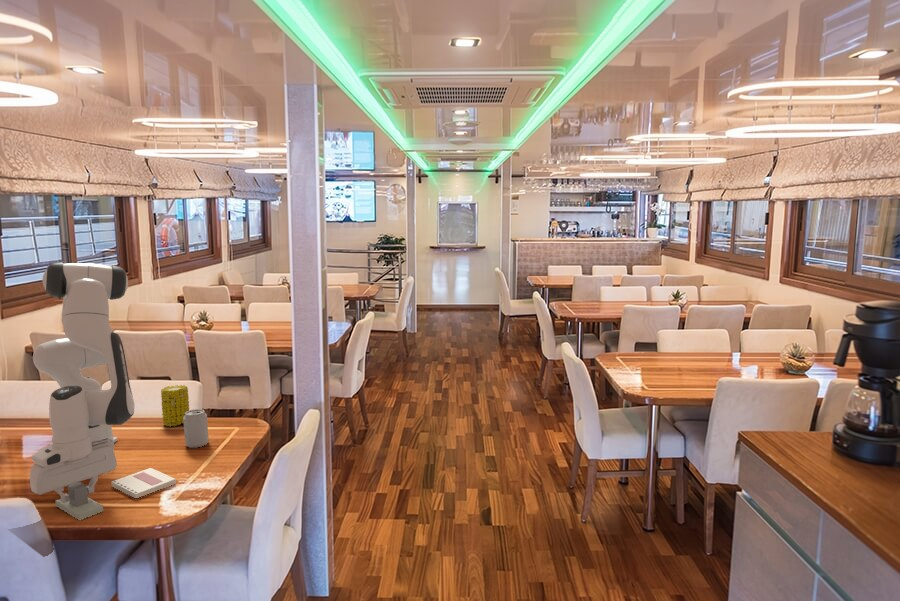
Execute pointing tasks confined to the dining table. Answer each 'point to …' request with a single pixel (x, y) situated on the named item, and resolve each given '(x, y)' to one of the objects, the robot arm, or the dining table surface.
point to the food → (174, 404)
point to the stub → (79, 502)
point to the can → (195, 428)
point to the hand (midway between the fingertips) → (78, 496)
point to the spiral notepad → (143, 482)
